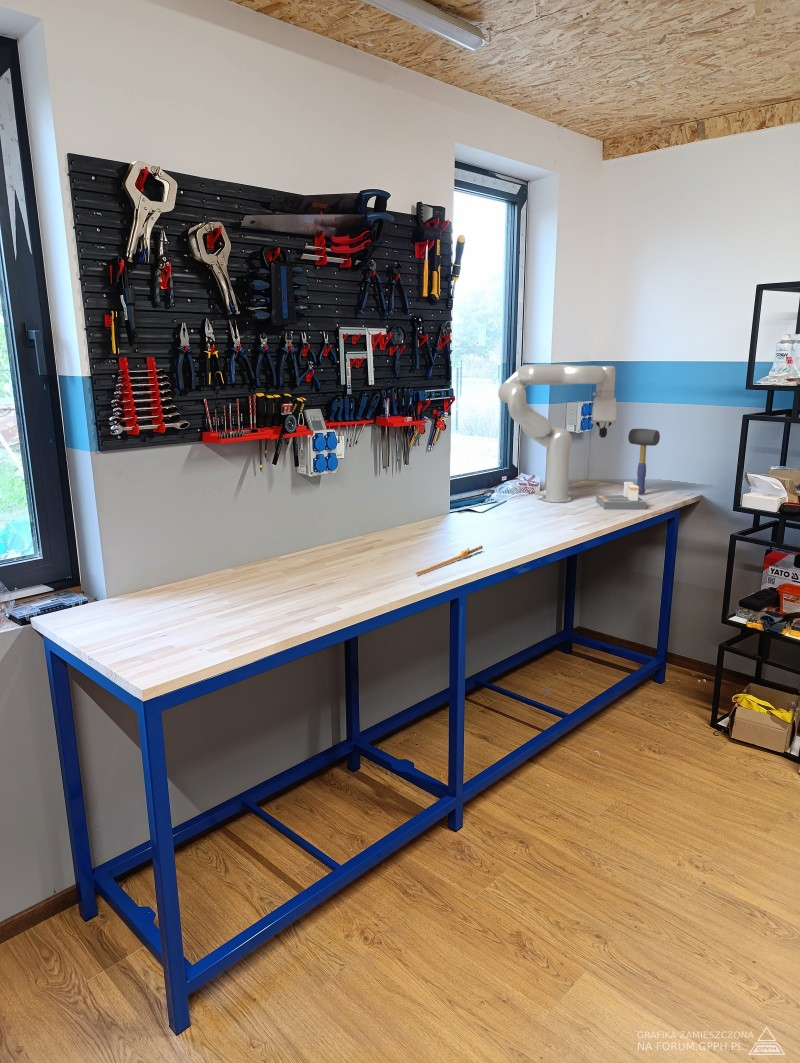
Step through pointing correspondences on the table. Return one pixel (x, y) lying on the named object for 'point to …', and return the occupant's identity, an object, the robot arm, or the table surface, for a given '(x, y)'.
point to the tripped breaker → (633, 492)
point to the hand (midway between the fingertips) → (602, 437)
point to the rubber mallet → (643, 451)
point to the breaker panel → (620, 500)
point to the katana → (450, 560)
